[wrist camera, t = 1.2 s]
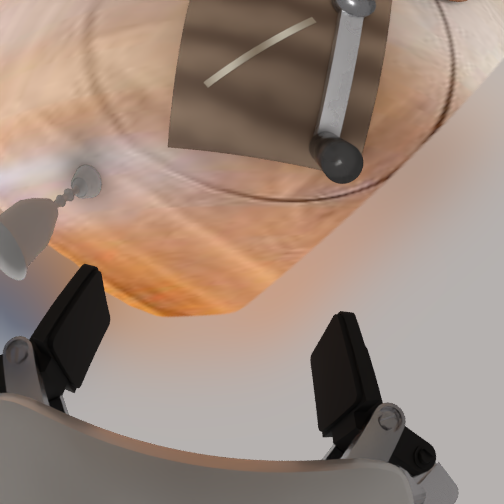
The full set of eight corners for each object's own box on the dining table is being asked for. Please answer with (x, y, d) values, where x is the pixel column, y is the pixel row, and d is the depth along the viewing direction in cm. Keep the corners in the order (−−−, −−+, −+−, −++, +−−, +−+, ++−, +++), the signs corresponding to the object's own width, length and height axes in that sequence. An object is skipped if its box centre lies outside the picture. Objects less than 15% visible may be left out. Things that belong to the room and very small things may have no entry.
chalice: (116, 182, 33) (33, 257, 17) (93, 213, 35) (20, 290, 20) (83, 148, 30) (-13, 203, 14) (62, 181, 32) (-20, 244, 17)
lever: (333, -16, 16) (355, -44, 10) (370, -4, 17) (402, -24, 10) (299, 156, 28) (313, 177, 21) (337, 164, 28) (360, 188, 22)
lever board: (206, -42, 16) (202, -49, 14) (386, -5, 17) (393, -10, 15) (172, 143, 30) (167, 147, 28) (349, 173, 31) (355, 178, 30)
